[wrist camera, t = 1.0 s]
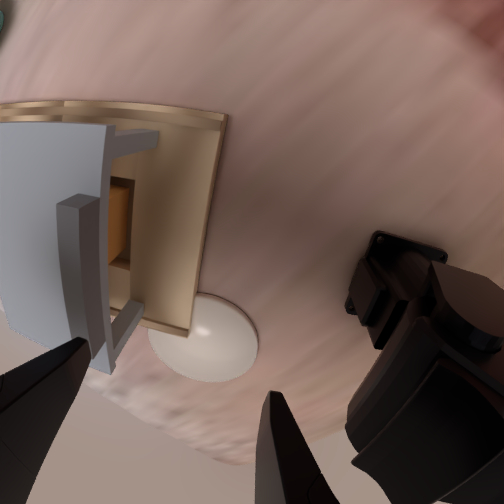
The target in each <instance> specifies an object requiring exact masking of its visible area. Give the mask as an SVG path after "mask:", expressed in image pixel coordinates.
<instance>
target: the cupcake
mask: <svg viewBox="0 0 504 504" xmlns="http://www.w3.org/2000/svg"><path fill="white" fill-rule="evenodd" d="M3 20H4V16H3V13H2V11H1V10H0V32H1V29H2V26H3Z"/></svg>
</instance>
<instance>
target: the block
mask: <svg viewBox="0 0 504 504" xmlns="http://www.w3.org/2000/svg"><path fill="white" fill-rule="evenodd" d="M128 198H129V188H126V187H120V186H115V185H110V189H109V207H108V264H109V263H110V262H111V261H112V260H113V259H115V258H116V257H117V256H118V255H119V254H120V253H121V252H122V251H123V250H124V249H125V248H126V231H127V213H128Z"/></svg>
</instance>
